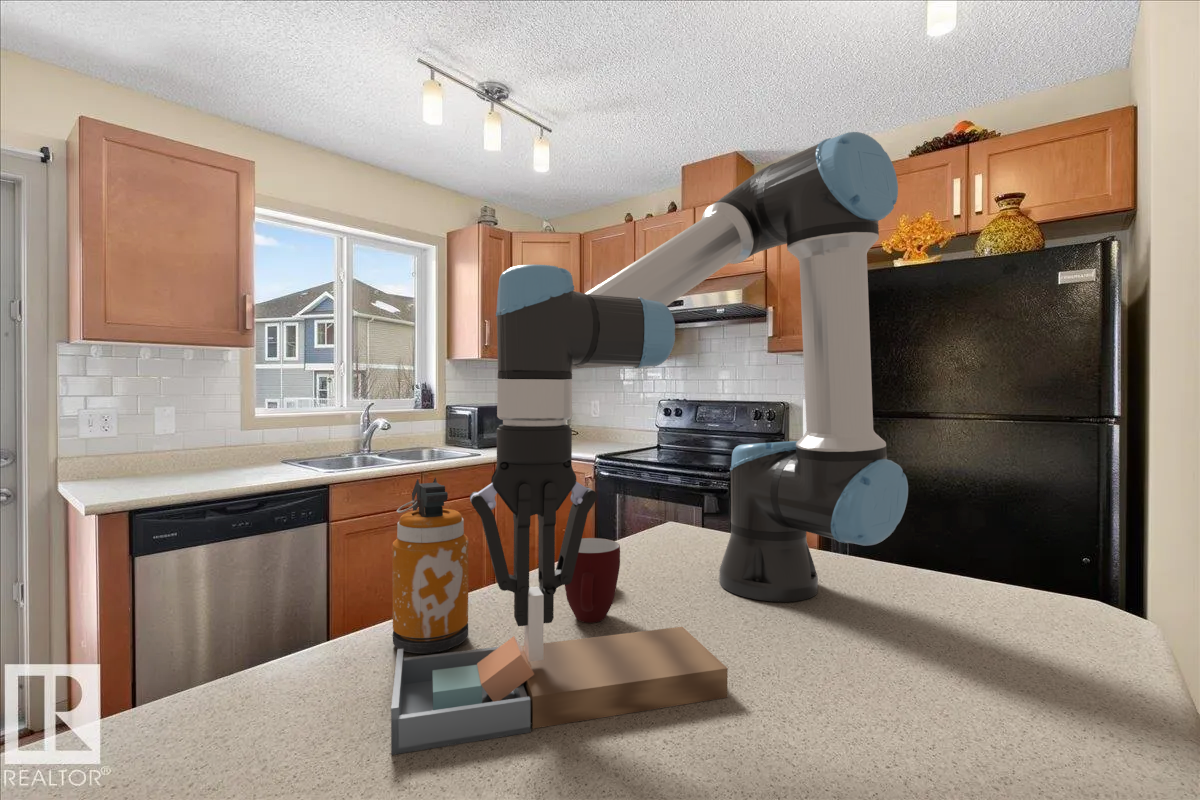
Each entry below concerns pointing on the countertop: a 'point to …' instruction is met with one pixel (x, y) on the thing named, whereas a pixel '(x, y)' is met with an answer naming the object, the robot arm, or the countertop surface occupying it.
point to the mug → (594, 579)
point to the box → (448, 726)
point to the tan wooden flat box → (621, 676)
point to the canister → (430, 574)
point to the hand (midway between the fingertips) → (533, 654)
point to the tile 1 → (456, 687)
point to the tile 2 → (504, 670)
